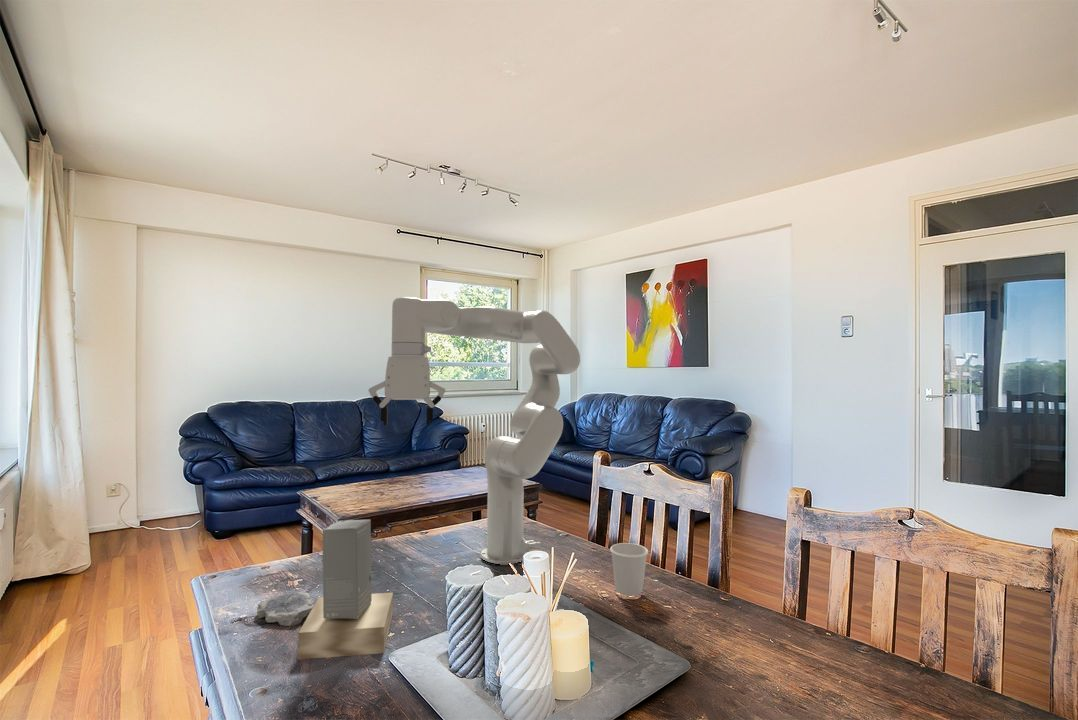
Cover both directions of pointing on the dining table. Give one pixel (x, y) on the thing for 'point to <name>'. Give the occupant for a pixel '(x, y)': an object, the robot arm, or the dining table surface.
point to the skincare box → (346, 569)
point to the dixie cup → (628, 567)
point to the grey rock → (286, 608)
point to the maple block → (347, 631)
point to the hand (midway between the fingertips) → (407, 424)
